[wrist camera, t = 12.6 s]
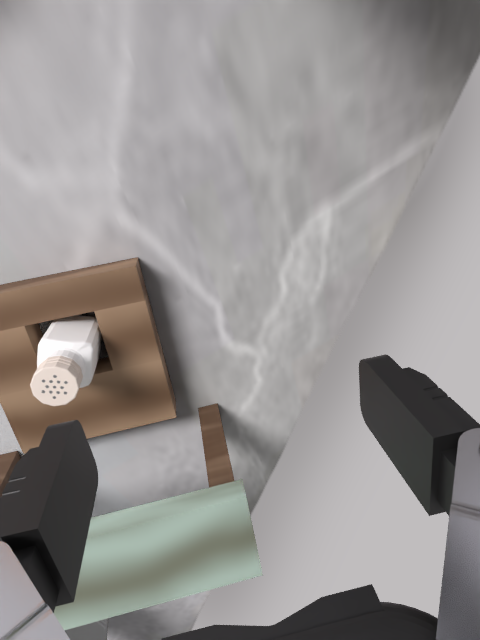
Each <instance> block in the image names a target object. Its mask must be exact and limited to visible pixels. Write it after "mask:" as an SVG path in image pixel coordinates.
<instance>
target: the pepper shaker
mask: <svg viewBox="0 0 480 640" xmlns="http://www.w3.org/2000/svg"><path fill="white" fill-rule="evenodd" d="M101 338H102V334H101V331H100V328H99V325H98V322H97V319H96V317H90V316H79V315H74V316H69V317H65V318H60V319H55V320H53V322H52V323H51V325H50V326H49V328H48V329H47V331H46V332H45V334H44V336H43V337H42V339H41V340H40V342H39V344H38V353H37V370H36V371H35V373H34V375H33V378H32V381H31V384H30V386H31V390H32V393H33V396H35V397H36V398H37V399H38V400H39V401H40V402H41V403H43V404H47V405H51V406H60V405H66V404H68V403H69V402H70V401H72V400H73V399H74V398H76V395H77V392H78V390H79V388H83V387H85V386H88V385H89V384H90V383H91V381H92V378H93V375H94V372H95V369H96V365H97V362H98V359H99V356H100V353H101Z"/></svg>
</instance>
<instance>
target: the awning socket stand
mask: <svg viewBox="0 0 480 640" xmlns="http://www.w3.org/2000/svg"><path fill="white" fill-rule="evenodd" d="M93 311H94V312H95V316H96V319H97V322H98V325H99V328H100V331H101V334H102V337H103V340H104V344H105V347H106V350H107V353H108V356H109V357H106V358H102V359H98V362H97V365H96V369H95V372H94V375H93V378H92V381H91V383H90V384H89V385H88V386H85V387H83V388H79V390H78V392H77V395H76V398H74V399H73V400H72V401H70V402H69V403H68V404H66V405H60V406H51V405H47V404H43V403H41V402H40V401H39V400H38V399H37V398H36V397H35V396H33V393H32V390H31V386H30V384H31V381H32V378H33V375H34V373H35V371H36V370H37V353H38V344H39V342H40V340H41V339H42V337H43V334H42V331H41V329H40V326H39V323H41V322H46V321H50V320H55V319H60V318H65V317H69V316H74V315H79V314H84V313H88V312H93ZM0 403H1V405H2V408H3V410H4V412H5V414H6V416H7V418H8V421H9V423H10V425H11V427H12V429H13V432H14V434H15V436H16V438H17V440H18V443H19V445H20V447H21V449H22V451H23V453H24V454H25V453H27V452H28V450H29V449H31V448H35V447H39V445H40V442H41V440H42V438H43V435H44V433H45V430H46V428H47V427H48V426H49V425H54V424H59V423H63V422H68V421H73V420H78V421H79V422H80V423H81V425H82V428H83V430H84V433H85V436H86V438H87V439H88V438H92V437H96V436H101V435H105V434H109V433H113V432H117V431H122V430H126V429H130V428H134V427H138V426H143V425H147V424H151V423H155V422H160V421H164V420H168V419H172V418H176V400H175V396H174V392H173V388H172V385H171V381H170V377H169V373H168V370H167V366H166V362H165V358H164V354H163V351H162V347H161V343H160V339H159V335H158V332H157V328H156V324H155V320H154V317H153V313H152V309H151V305H150V301H149V298H148V294H147V290H146V286H145V282H144V279H143V275H142V271H141V267H140V264H139V260H138V257H137V258H132V259H127V260H122V261H117V262H112V263H107V264H102V265H97V266H92V267H87V268H82V269H77V270H72V271H67V272H62V273H57V274H52V275H47V276H42V277H37V278H32V279H27V280H22V281H17V282H12V283H7V284H2V285H0ZM198 410H199V417H200V424H201V431H202V439H203V446H204V453H205V460H206V467H207V475H208V482H209V488H206V489H202V490H198V491H194V492H190V493H186V494H182V495H178V496H174V497H171V498H167V499H163V500H159V501H155V502H151V503H147V504H143V505H139V506H135V507H131V508H127V509H124V510H120V511H116V512H112V513H108V514H104V515H100V516H96V517H92V518H91V521H90V526H89V531H88V535H87V540H86V545H85V550H84V555H83V560H82V565H81V570H80V574H79V579H78V584H77V589H76V594H75V599H74V602H72V603H68V604H64V605H60V606H56V607H55V610H54V615H55V616H56V618H57V620H58V621H59V623H60V624H61V626H62V628H63V629H64V630H68V629H71V628H75V627H79V626H82V625H86V624H89V623H93V622H97V621H100V620H104V619H107V618H111V617H114V616H118V615H122V614H125V613H129V612H132V611H136V610H140V609H143V608H147V607H150V606H154V605H158V604H161V603H165V602H168V601H172V600H176V599H179V598H183V597H186V596H190V595H193V594H197V593H201V592H204V591H208V590H211V589H215V588H219V587H222V586H226V585H229V584H233V583H236V582H240V581H244V580H247V579H251V578H255V577H258V576H262V570H261V565H260V560H259V555H258V550H257V546H256V541H255V536H254V531H253V526H252V522H251V517H250V512H249V507H248V502H247V498H246V493H245V489H244V485H243V481H242V479H241V480H237V481H234V477H233V472H232V468H231V463H230V459H229V454H228V449H227V445H226V440H225V436H224V431H223V426H222V422H221V417H220V413H219V408H218V404H213V405H209V406H205V407H201V408H198ZM20 459H21V457H20V455H19V453H18V451H15V452H11V453H6V454H2V455H0V497H2V492H3V490H4V488H5V486H6V484H7V483H9V481H8V480H9V477H10V475H11V473H12V471H13V469H14V467H15V465H16V463H17V462H18V461H19V460H20Z"/></svg>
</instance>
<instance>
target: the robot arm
mask: <svg viewBox="0 0 480 640" xmlns="http://www.w3.org/2000/svg"><path fill="white" fill-rule="evenodd" d="M359 380H360V381H359V382H360V406H361V411H362V415H363V418H364V420H365V423H366V425H367V426H368V427H369V429H370V431H371V432H372V433H373V435H374V436H375V438H376V439H377V441H378V442H379V444H380V445H381V446H382V448H383V449H384V451H385V452H386V454H387V455H388V457H389V458H390V460H391V461H392V462H393V464H394V465H395V467H396V468H397V470H398V471H399V473H400V474H401V475H402V477H403V478H404V479H405V481H406V483H407V484H408V486H409V487H410V488H411V490H412V491H413V493H414V494H415V495H416V497H417V499H418V500H419V501H420V503H421V504H422V506H423V507H424V509H425V510H426V512H427V513H428V514H429V516H430V515H434V514H438V513H442V512H447V514H448V515H449V525H448V534H447V543H446V551H445V561H444V569H443V578H442V587H441V597H440V606H439V615H438V618H436V617H434V616H432V615H430V614H428V613H426V612H423V611H420V610H418V609H416V608H412V607H408V606H405V605H401V604H395V603H389V602H380V601H379V599H378V597H377V594H376V592H375V590H374V588H373V586H372V584H371V585H367V586H364V587H360V588H356V589H352V590H348V591H344V592H340V593H336V594H332V595H329V596H325V597H321V598H320V599H318V600H316V601H315V602H313V603H311V604H309V605H308V606H306V607H305V608H303V609H301V610H299V611H298V612H296V613H294V614H292V615H291V616H289V617H287V618H286V619H284V620H282V621H281V622H279V623H277V624H275V625H272V626H238V625H213V626H209V627H205V628H201V629H198V630H193V631H189V632H186V633H182V634H178V635H174V636H170V637H166V638H162V640H480V424H479V423H477V422H476V421H475V420H474V419H473V418H472V417H471V416H470V415H469V414H468V413H467V412H466V411H464V410H463V409H462V408H461V407H460V406H459V405H458V404H457V403H456V402H455V401H454V400H452V399H451V398H450V397H448V396H447V394H446V393H445V392H444V391H443V390H442V389H440V388H438V386H437V385H436V384H435V383H434V382H433V381H432V380H431V379H429V377H427V376H426V375H425V374H422V373H420V372H418V371H416V370H414V369H411V368H409V367H408V368H404V369H402V368H401V367H400V366H399V365H398V364H397V363H396V362H395V361H394V360H393V359H392V358H391V357H390V356H388V355H382V356H377V357H373V358H367V359H363V360H361V361H360V363H359ZM8 481H9V483H7V484H6V486H5V488H4V490H3V492H2V497H0V640H70V639H69V637H68V635H67V634H66V632H65V631H64V629H63V628H62V626H61V624H60V623H59V621H58V620H57V618H56V616H55V615H54V610H55V607H56V606H60V605H64V604H68V603H72V602H74V599H75V594H76V589H77V584H78V579H79V574H80V570H81V565H82V560H83V555H84V550H85V545H86V540H87V535H88V531H89V526H90V521H91V516H92V511H93V506H94V501H95V496H96V491H97V486H98V471H97V466H96V462H95V459H94V457H93V454H92V451H91V449H90V446H89V443H88V441H87V438H86V436H85V433H84V430H83V428H82V425H81V423H80V422H79V421H78V420H73V421H68V422H63V423H59V424H54V425H49V426H48V427H47V428H46V430H45V433H44V435H43V438H42V440H41V442H40V445H39V447H35V448H31V449H29V450H28V452H27V453H26V454H25V455H24V456H23V457H22V458H21V459H20V460H19V461H18V462H17V463H16V465H15V467H14V469H13V471H12V473H11V475H10V477H9V480H8Z"/></svg>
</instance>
